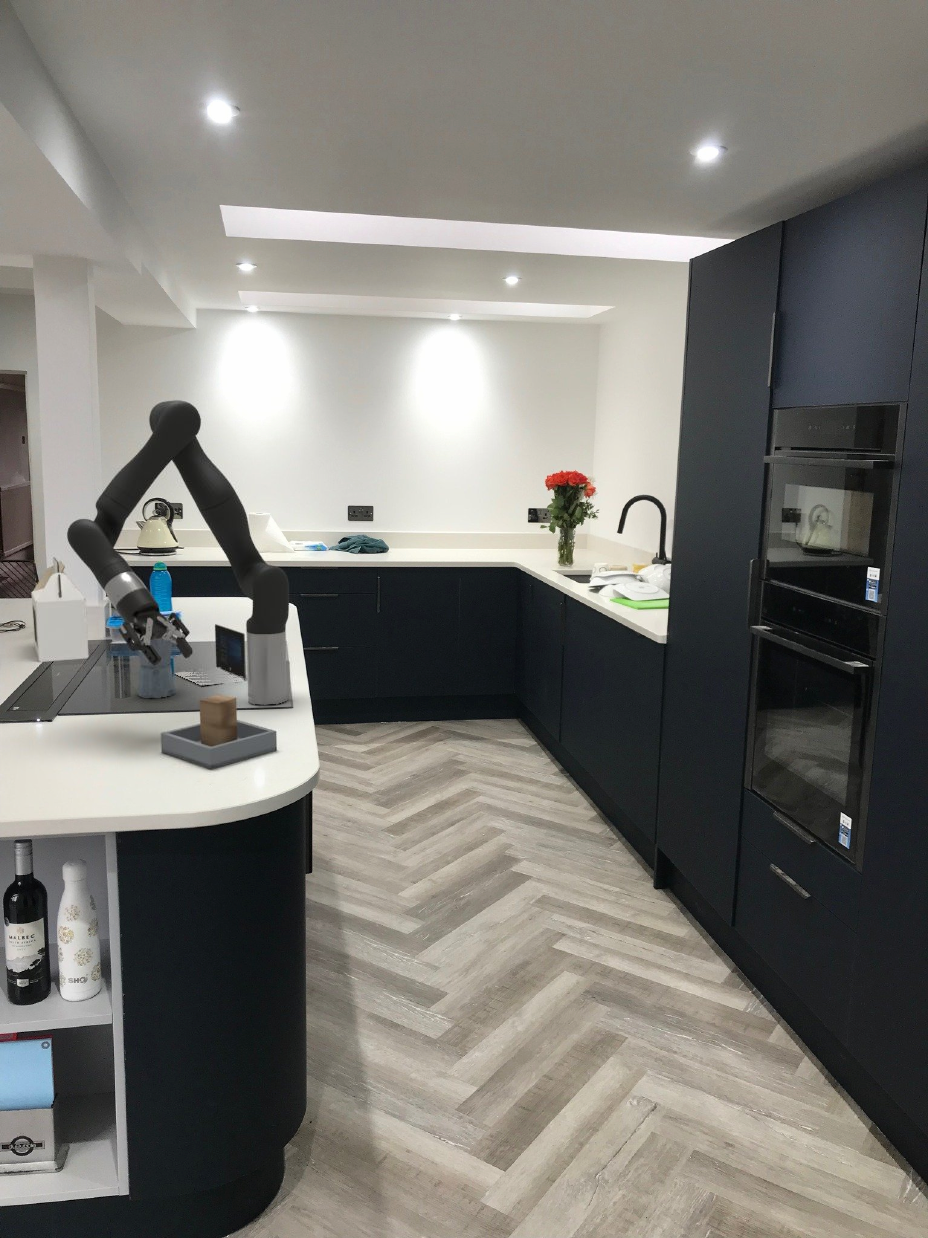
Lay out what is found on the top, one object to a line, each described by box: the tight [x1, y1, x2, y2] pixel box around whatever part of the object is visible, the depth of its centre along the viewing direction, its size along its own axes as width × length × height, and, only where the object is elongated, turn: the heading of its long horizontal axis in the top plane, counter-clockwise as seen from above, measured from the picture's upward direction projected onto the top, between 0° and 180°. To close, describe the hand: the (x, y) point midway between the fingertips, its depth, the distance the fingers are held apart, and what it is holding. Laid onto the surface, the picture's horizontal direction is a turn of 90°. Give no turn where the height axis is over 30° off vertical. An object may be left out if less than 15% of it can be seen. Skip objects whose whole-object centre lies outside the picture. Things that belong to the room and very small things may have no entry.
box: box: [160, 719, 278, 770], centre depth 189 cm, size 16×16×4 cm
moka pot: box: [136, 629, 176, 699], centre depth 233 cm, size 10×15×20 cm, turn 39°
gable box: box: [30, 557, 89, 663], centre depth 279 cm, size 22×13×28 cm, turn 27°
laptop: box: [174, 623, 247, 686], centre depth 252 cm, size 18×12×13 cm
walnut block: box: [199, 694, 238, 747], centre depth 189 cm, size 5×5×10 cm
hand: (174, 659), depth 192 cm, fingers open, 8 cm apart
